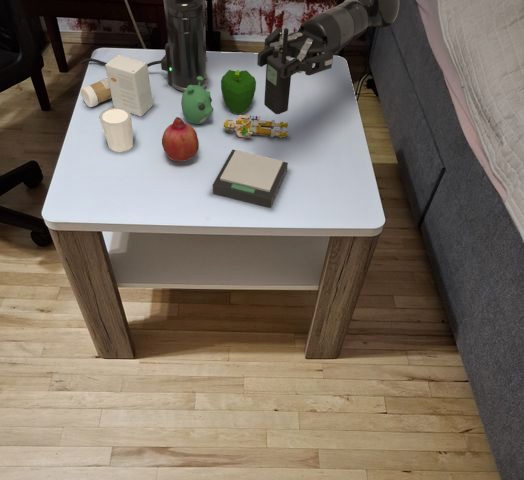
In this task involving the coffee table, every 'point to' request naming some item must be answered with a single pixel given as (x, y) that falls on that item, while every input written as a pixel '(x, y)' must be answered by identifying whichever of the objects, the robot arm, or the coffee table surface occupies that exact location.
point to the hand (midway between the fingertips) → (270, 66)
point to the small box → (129, 84)
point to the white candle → (117, 128)
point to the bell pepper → (238, 90)
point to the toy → (254, 127)
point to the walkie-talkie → (277, 80)
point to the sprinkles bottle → (96, 93)
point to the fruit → (180, 141)
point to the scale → (250, 178)
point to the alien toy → (196, 103)
